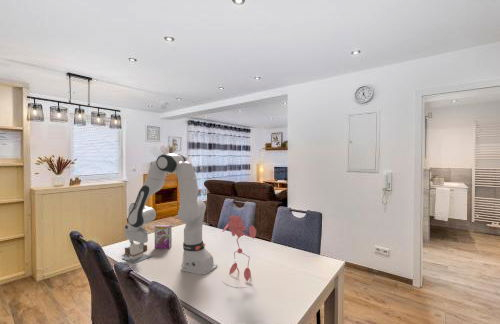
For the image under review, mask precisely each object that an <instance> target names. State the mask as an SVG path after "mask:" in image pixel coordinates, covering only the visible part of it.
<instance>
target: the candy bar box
mask: <svg viewBox="0 0 500 324" xmlns="http://www.w3.org/2000/svg"><path fill="white" fill-rule="evenodd" d="M172 246H173V245H172V224H156V225H155V226H154V249H162V250H163V249H165V250H167V249H168V250H169V249H170V248H172Z"/></svg>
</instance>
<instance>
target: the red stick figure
mask: <svg viewBox="0 0 500 324" xmlns="http://www.w3.org/2000/svg"><path fill="white" fill-rule="evenodd" d="M227 229H228V230H229V231H231V232H230V233H231V235H232V237H235V236H237V237H236V243H237V246H238V249H237V250H236V251H234V252H233V253H234V255H233V256H234V258H236V253H238V254H240V255H241V254H243V255H245V256H246V257H248V263H247V267H246V268H245V269H244V271H243V278H244V279H245V281H246V282H248V281H249V280H250V278H252V276H251V275H252V274H251V269H250V268H249V264H250V258H251V257H250V256H249V255H247V254H245V253H243V248H240V245H239V239H240V238H241V237H243V236H247V237H249V238H252V239H253V240H254V239H256V236H257V228H256V227H255V226H254V225H253V224H251V225H250V226H249V229H248V233H249V235H248V234H245V231H246V226H244V221H243V220H242V217H241V215H238V216H236V215H235V214H232V215H230V216H229V220H228V221H227V224H226V225H225V227H223V229H222V233H223V232H225V231H226V230H227ZM236 270H237V272H238V273H240V270H239V268H238V263H237V262H234V263H233V264H232V265H231V267H230V268H229V273H228V274H229V275H231V274H234V272H235V271H236ZM225 286H227V287H231V288H232V287H233V286H232V285H229V284H227V283H225ZM235 288H236V289H242V288H243V289H244V288H246V287H245V286H244V287H239V286H238V287H236V286H235Z"/></svg>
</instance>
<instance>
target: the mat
mask: <svg viewBox="0 0 500 324" xmlns="http://www.w3.org/2000/svg"><path fill="white" fill-rule="evenodd" d="M149 258H152V255H149V254H146V253H143V256H142V257H139V258H137V259H134V260H133V259H130V255H127V256H124V257H121V259H122V260H124V261H125V262H129V263H131V264H138V263H139V262H142V261H145V260H147V259H149Z"/></svg>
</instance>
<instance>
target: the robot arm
mask: <svg viewBox="0 0 500 324" xmlns="http://www.w3.org/2000/svg"><path fill="white" fill-rule="evenodd" d="M168 173H175V174H176V176H177V183H178V188H179V209H178V211H177V217H178V219H179V221H180V222H182V223H184V224H185V226H184V227H183V243H182V248H183V252H182V253H183V254H182V262H181V267H180V270H181V271H182V272H187V273H192V274H198V275H205V274H208V273H210V272H213V271H214V270H215V269H217V268H218V263H217V262H215V261H214V257H213V255H212V254H211V252H209V250H208V249H206V244H207V243H204V241H203V226H204V219H205V213H206V208H207V205H206V203H205V202H204V201H203V200H201V199H198V194H199V187H198V181H197V176H196V175H197V174H196V172H195V168H194V166H193V164H192V163H191V162H189V161H187V159H186V157H185V156H184V155H182V154H180V153H163V154H160V155H159V156H158V157H156V160H154V161H152V163H151V164H150V166H149V169H148V172H147V176H146V177H145V181H144V183H143V185H142V186H141V188H140V189H139V191H138V194H137V196H136V198H135V202H132V203H130V204H129V207H128V216H127V221H128V224H125V225H124V237H125V239H127V240H129V243H130V245H131V244H135V243H134V242H136V243H138V242H140V246H139V249H142V248H143V244H144V245H145V244H146V243H147V242H148V241H149V235H148V231H147V230H146V228H145V226H144V225H146V224H148V223H151V222H153V221H155V219H156V218H157V211H156V210H155V208H153V207H152V206H151V207H150V206H147V205H146V204H147V202H148V200H149V199H150V197H152V195H154V194H156V193H157V192H159V191H160V190H161V189H162V188H163V187H164V185H165V182H166V178H167V174H168Z"/></svg>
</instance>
